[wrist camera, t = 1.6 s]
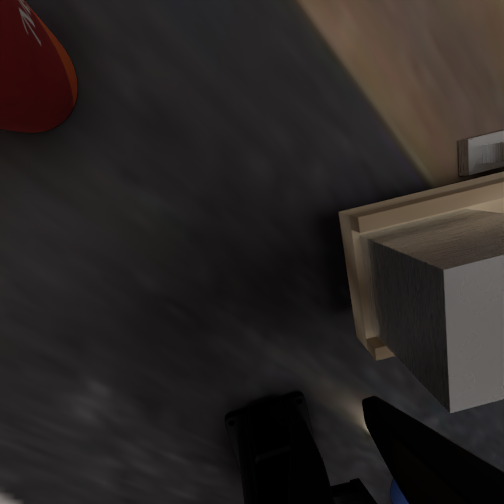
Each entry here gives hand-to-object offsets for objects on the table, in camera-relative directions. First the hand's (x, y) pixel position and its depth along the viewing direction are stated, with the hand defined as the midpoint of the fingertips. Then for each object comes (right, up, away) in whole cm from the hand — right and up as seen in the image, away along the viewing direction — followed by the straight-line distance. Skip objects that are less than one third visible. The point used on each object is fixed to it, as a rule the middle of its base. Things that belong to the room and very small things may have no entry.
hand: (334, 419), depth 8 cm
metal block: (+7, +4, +8) cm, 11 cm away
